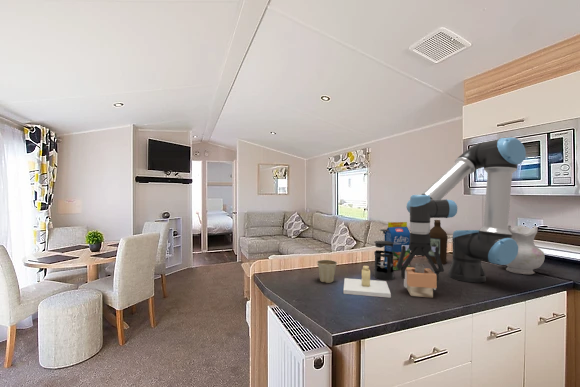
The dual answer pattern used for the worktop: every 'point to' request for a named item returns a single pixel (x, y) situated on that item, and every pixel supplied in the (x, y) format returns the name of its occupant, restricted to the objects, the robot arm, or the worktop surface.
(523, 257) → the ceramic pitcher
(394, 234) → the blue food package
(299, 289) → the worktop surface
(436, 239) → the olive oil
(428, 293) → the stand
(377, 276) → the french press
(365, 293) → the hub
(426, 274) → the collar
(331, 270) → the flower pot
